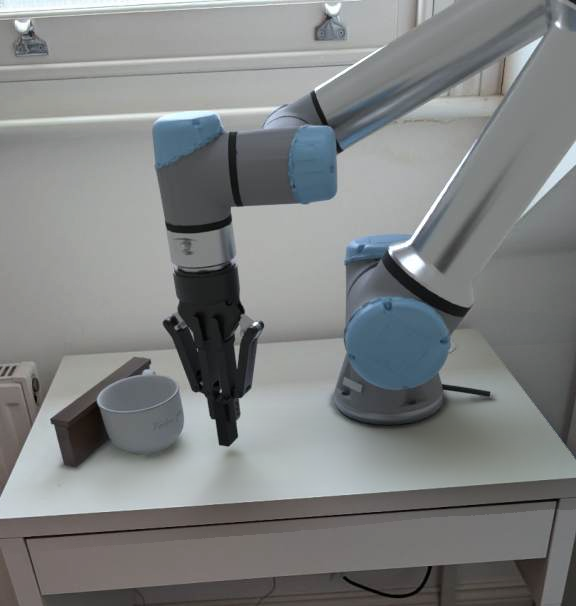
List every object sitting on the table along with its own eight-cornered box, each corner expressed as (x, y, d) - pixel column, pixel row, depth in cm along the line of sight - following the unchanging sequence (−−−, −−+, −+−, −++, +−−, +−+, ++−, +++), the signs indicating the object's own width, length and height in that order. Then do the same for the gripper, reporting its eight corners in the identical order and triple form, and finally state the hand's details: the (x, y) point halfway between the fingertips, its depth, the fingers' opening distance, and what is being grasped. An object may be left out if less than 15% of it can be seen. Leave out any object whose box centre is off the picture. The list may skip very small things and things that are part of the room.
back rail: (157, 401, 120) (150, 358, 116) (78, 468, 105) (67, 421, 101) (141, 398, 121) (134, 356, 117) (61, 464, 106) (49, 418, 102)
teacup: (171, 466, 104) (162, 411, 100) (94, 461, 106) (82, 406, 102) (204, 416, 115) (197, 364, 111) (133, 412, 118) (123, 361, 113)
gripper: (138, 269, 92) (171, 447, 106) (240, 276, 88) (261, 462, 101) (172, 249, 98) (199, 421, 111) (269, 255, 93) (285, 434, 106)
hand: (228, 440), depth 106 cm, fingers closed
